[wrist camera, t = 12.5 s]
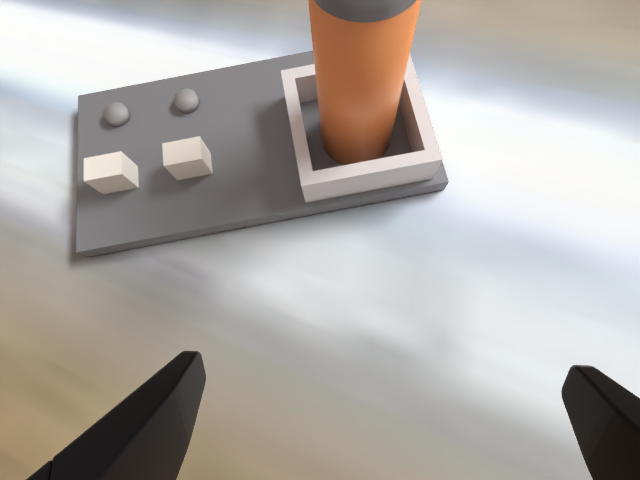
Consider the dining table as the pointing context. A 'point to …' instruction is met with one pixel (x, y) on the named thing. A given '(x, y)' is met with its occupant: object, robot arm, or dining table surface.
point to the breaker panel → (231, 155)
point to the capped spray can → (360, 72)
